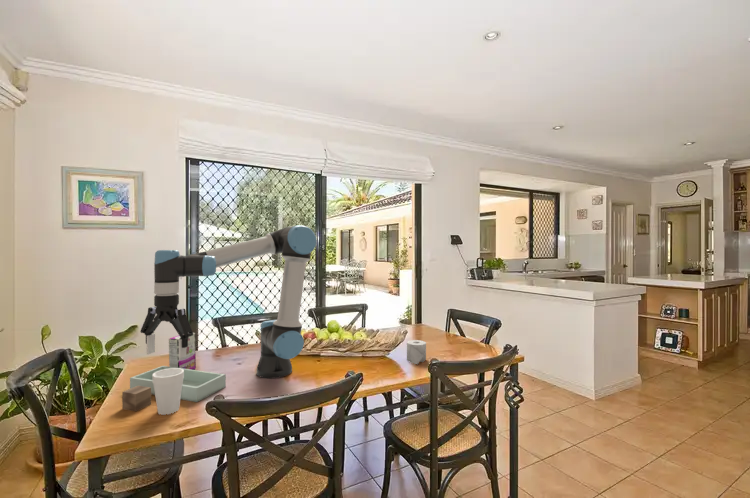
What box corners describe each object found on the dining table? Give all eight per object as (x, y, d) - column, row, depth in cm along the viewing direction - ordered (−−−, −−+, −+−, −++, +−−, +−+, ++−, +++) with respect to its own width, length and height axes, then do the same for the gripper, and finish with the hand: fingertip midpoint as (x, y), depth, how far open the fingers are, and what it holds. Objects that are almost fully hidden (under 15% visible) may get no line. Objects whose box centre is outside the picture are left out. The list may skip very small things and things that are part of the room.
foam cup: (161, 404, 132) (160, 368, 132) (188, 404, 133) (188, 367, 133) (147, 417, 123) (146, 377, 122) (176, 416, 123) (176, 377, 123)
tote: (225, 386, 149) (225, 374, 149) (197, 402, 135) (196, 388, 134) (162, 377, 159) (162, 365, 159) (130, 390, 144) (129, 377, 144)
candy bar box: (186, 367, 171) (186, 332, 171) (196, 368, 170) (196, 332, 170) (168, 376, 160) (168, 338, 160) (178, 377, 159) (178, 338, 159)
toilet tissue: (416, 366, 175) (416, 347, 175) (403, 358, 187) (403, 340, 187) (433, 364, 178) (433, 346, 178) (419, 356, 191) (419, 339, 190)
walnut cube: (151, 404, 133) (151, 387, 133) (135, 411, 127) (135, 394, 127) (138, 402, 134) (138, 385, 134) (122, 409, 129) (122, 391, 129)
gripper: (204, 294, 131) (204, 355, 131) (147, 291, 138) (147, 349, 138) (188, 297, 124) (187, 361, 124) (128, 293, 130) (128, 354, 131)
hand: (166, 355), depth 131 cm, fingers open, 13 cm apart
